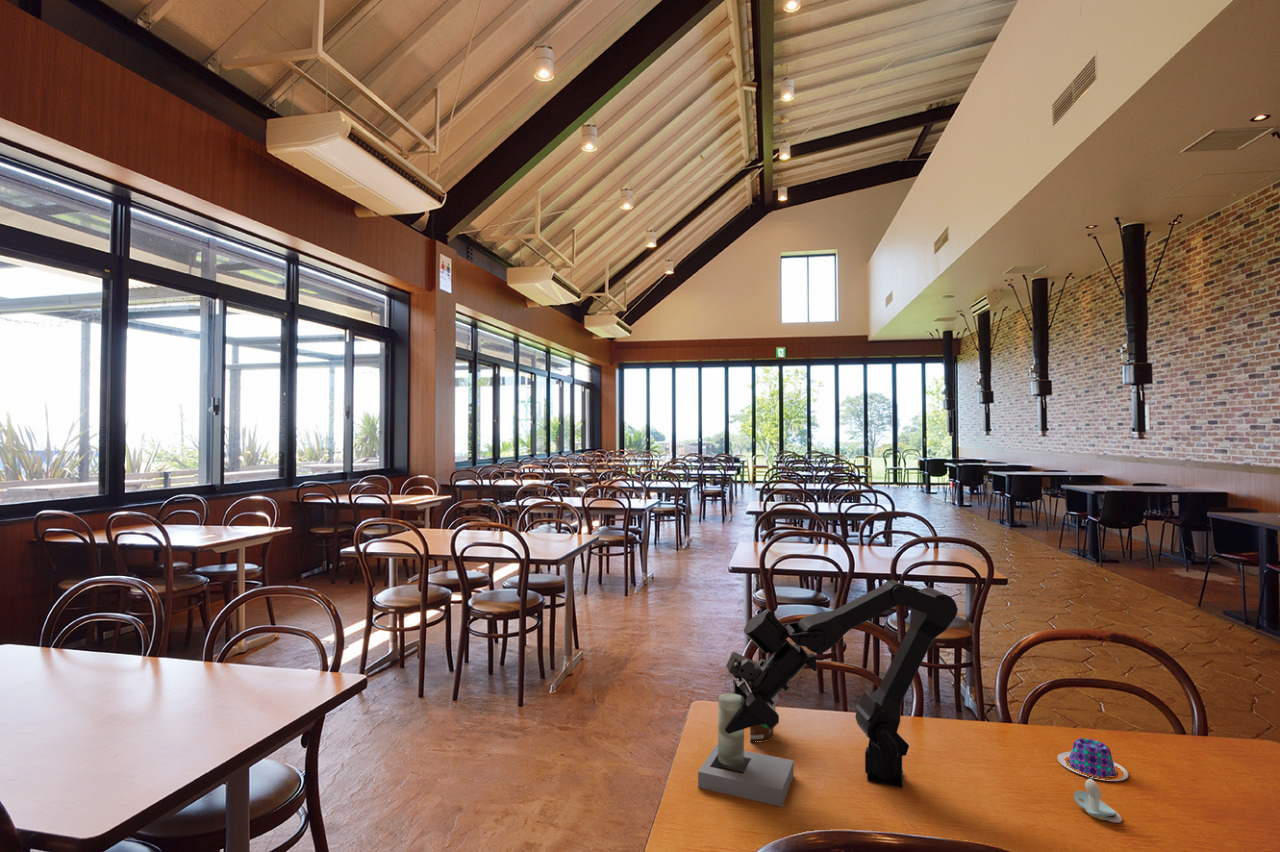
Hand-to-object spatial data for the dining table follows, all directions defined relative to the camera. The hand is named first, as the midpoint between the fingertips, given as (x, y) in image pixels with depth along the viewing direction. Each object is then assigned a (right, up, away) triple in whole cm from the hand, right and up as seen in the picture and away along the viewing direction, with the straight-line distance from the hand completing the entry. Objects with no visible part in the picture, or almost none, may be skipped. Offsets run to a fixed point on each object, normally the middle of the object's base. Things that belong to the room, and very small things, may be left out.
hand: (724, 725), depth 128 cm
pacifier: (+66, -11, -11) cm, 68 cm away
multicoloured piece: (+77, -12, +6) cm, 78 cm away
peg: (+1, -7, 0) cm, 7 cm away
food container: (+12, -11, +19) cm, 25 cm away
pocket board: (+4, -10, -1) cm, 11 cm away
